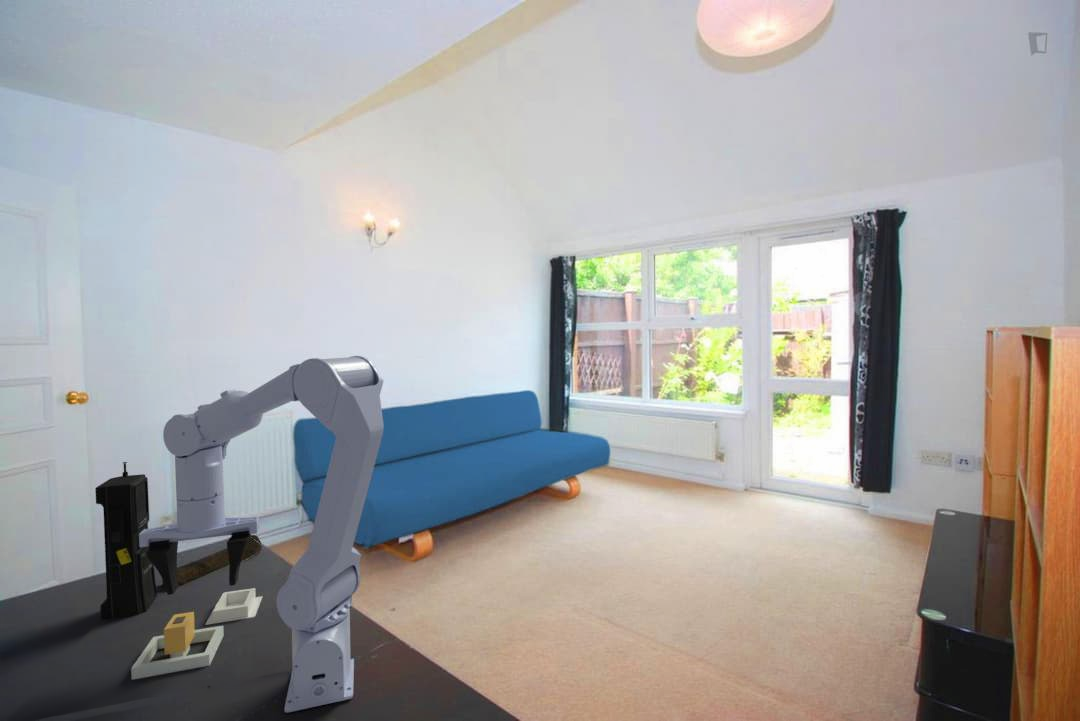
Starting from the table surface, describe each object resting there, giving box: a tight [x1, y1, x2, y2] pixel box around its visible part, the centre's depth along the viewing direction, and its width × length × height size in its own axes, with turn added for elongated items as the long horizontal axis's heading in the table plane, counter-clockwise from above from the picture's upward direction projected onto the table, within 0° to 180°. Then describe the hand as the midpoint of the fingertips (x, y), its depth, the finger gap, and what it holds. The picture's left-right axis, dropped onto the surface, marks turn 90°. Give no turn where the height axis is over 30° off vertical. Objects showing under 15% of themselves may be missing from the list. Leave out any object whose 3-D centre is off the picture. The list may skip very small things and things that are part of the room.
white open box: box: [205, 587, 264, 626], centre depth 85 cm, size 7×7×3 cm
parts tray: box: [130, 625, 225, 681], centre depth 73 cm, size 8×9×2 cm
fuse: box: [163, 611, 196, 659], centre depth 73 cm, size 4×2×6 cm, turn 19°
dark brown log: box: [161, 534, 262, 587], centre depth 101 cm, size 19×4×5 cm, turn 154°
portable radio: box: [95, 461, 158, 620], centre depth 85 cm, size 8×6×25 cm
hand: (203, 586), depth 74 cm, fingers open, 7 cm apart
